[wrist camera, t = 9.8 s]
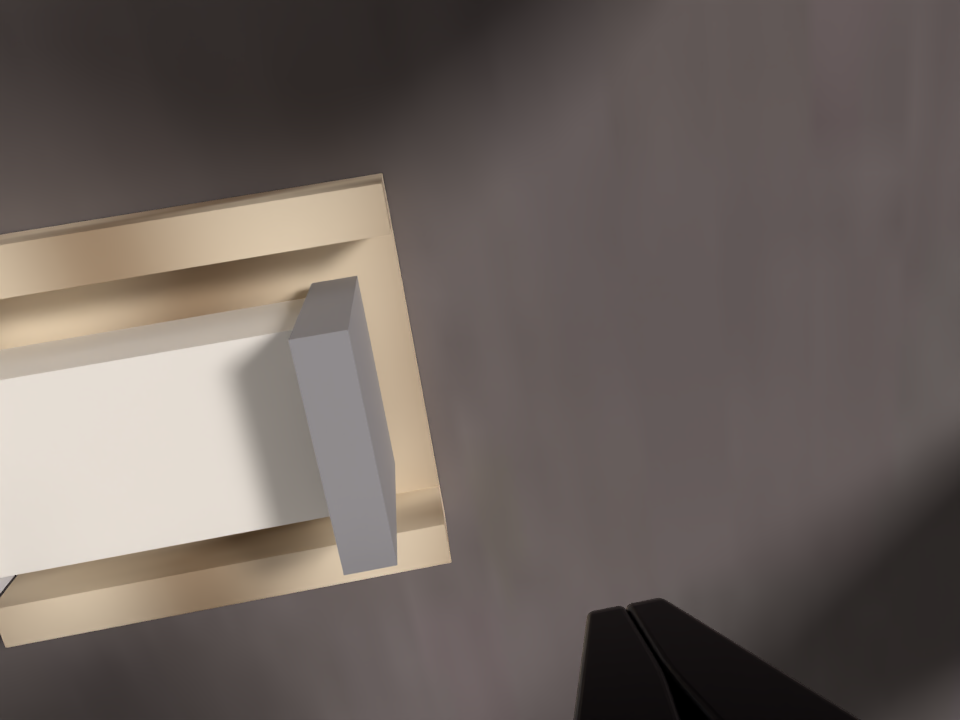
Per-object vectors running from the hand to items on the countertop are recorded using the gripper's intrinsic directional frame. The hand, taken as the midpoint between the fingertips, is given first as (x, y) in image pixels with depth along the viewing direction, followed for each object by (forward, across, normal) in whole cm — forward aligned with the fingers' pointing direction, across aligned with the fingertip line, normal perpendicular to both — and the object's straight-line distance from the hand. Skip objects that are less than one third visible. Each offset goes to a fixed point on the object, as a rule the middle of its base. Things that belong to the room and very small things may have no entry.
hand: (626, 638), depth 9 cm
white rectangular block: (+10, +7, 0) cm, 12 cm away
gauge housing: (+11, +7, 0) cm, 13 cm away
